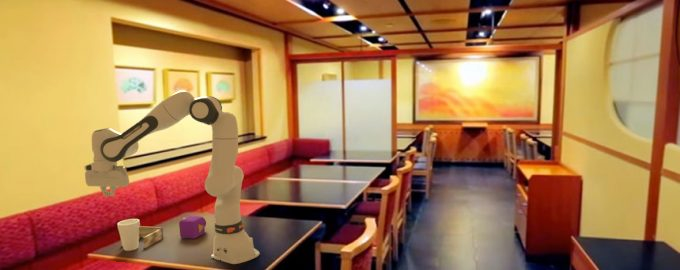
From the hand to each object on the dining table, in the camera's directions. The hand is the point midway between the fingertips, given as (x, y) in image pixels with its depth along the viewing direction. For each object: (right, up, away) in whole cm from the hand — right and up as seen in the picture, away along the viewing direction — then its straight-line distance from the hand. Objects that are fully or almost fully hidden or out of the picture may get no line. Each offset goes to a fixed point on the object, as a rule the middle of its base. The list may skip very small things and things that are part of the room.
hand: (109, 196), depth 184 cm
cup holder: (+4, -26, +24) cm, 36 cm away
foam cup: (+2, -28, +16) cm, 32 cm away
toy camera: (+27, -25, +31) cm, 48 cm away
